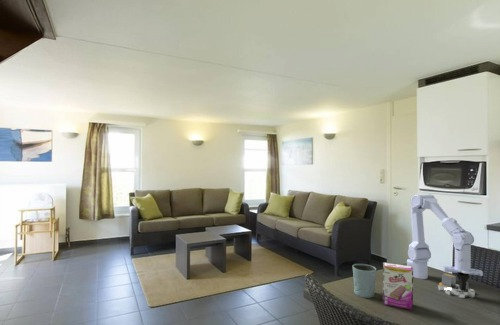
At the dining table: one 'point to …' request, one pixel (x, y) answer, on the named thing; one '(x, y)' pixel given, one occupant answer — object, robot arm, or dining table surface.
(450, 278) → the link block
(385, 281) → the candy bar box
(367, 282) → the teal cup
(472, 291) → the sprocket
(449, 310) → the dining table surface
